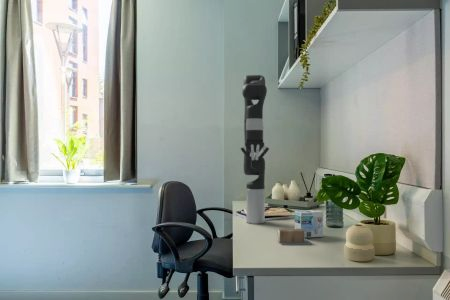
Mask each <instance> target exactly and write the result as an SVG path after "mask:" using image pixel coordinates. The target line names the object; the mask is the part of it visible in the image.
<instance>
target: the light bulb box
mask: <svg viewBox="0 0 450 300" xmlns="http://www.w3.org/2000/svg"><path fill="white" fill-rule="evenodd" d="M294 229H302V230H303V231H304V238H306V239H308V238H322V237H324V211H321V210H318V209H310V210H295V211H294Z"/></svg>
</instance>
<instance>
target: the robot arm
mask: <svg viewBox="0 0 450 300" xmlns="http://www.w3.org/2000/svg"><path fill="white" fill-rule="evenodd" d="M267 91H268V90H267V86H266V79H265V76H264V75H260V74H251V75H250V74H249V75H244V78H243V87H242V96H243V100H244V118H243V119H244V121H243V127H244V128H243V129H244V130H243V132H244V145H243V146H242V147H240V148H239V149H240V151H241V152H242V154H243V173H244V174H245V176H258V177H257V178H255V179H253V180H251V181H248V182H247V183H246V218H245V219H246V223H247V224H255V225H258V224H260V225H261V224H264V223H265V216H266V215H265V213H266V211H265V209H266V208H265V207H266V205H265V203H266V201H265V197H266V196H265V192H266V191H265V189H266V188H265V187H266V186H265V176H266V175H265V174H266V159H265V158H264V156H265V155H266V154H267V153H268V151H269V150H270V147H267V146H266V145H265V142H264V121H263V120H264V119H263V117H264V116H263V112H264V111H263V109H264V105H265V104H264V103H265V99H266V96H267V93H268V92H267ZM253 101H258V102H256V103H255V104H254V102H253ZM261 151H262V152H261ZM260 152H261V153H260Z"/></svg>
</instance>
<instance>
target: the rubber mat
mask: <svg viewBox="0 0 450 300" xmlns="http://www.w3.org/2000/svg"><path fill="white" fill-rule="evenodd" d="M280 244H281V246H295V245H296V246H299V245H301V246H303V245H310V246H311V245H313V243H312V242H311V241H309V239H308V238H304V242H282V243H280Z"/></svg>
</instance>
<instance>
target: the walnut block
mask: <svg viewBox="0 0 450 300" xmlns="http://www.w3.org/2000/svg"><path fill="white" fill-rule="evenodd" d="M276 231H277V233H276V234H277V235H276V239H277V242H278V243H280V244H281V243H282V242H304V231H303V230H302V229H295V228H277V229H276Z"/></svg>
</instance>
